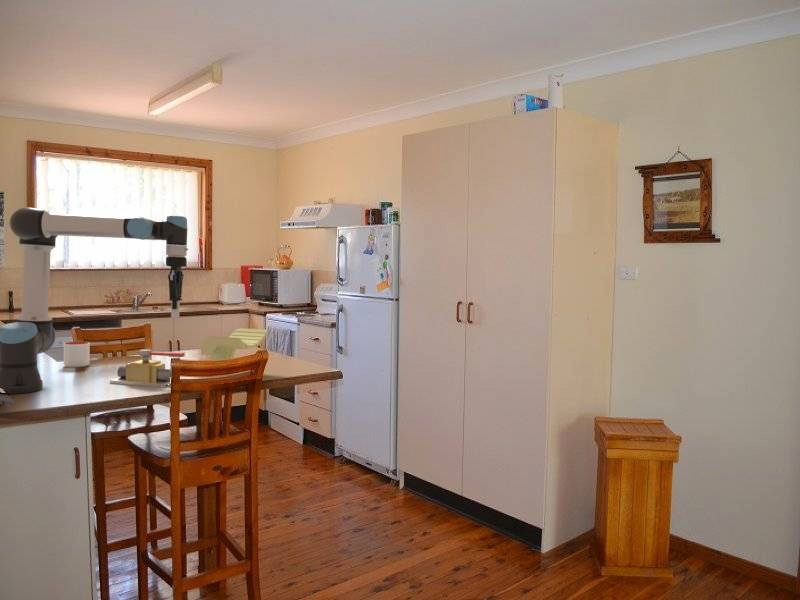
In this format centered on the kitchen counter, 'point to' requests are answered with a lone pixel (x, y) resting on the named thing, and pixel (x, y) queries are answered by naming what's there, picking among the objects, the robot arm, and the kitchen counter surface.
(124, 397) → the kitchen counter surface
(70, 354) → the cup
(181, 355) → the lever
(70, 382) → the kitchen counter surface
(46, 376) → the kitchen counter surface
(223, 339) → the slatted curved stool
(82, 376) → the kitchen counter surface
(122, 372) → the valve
